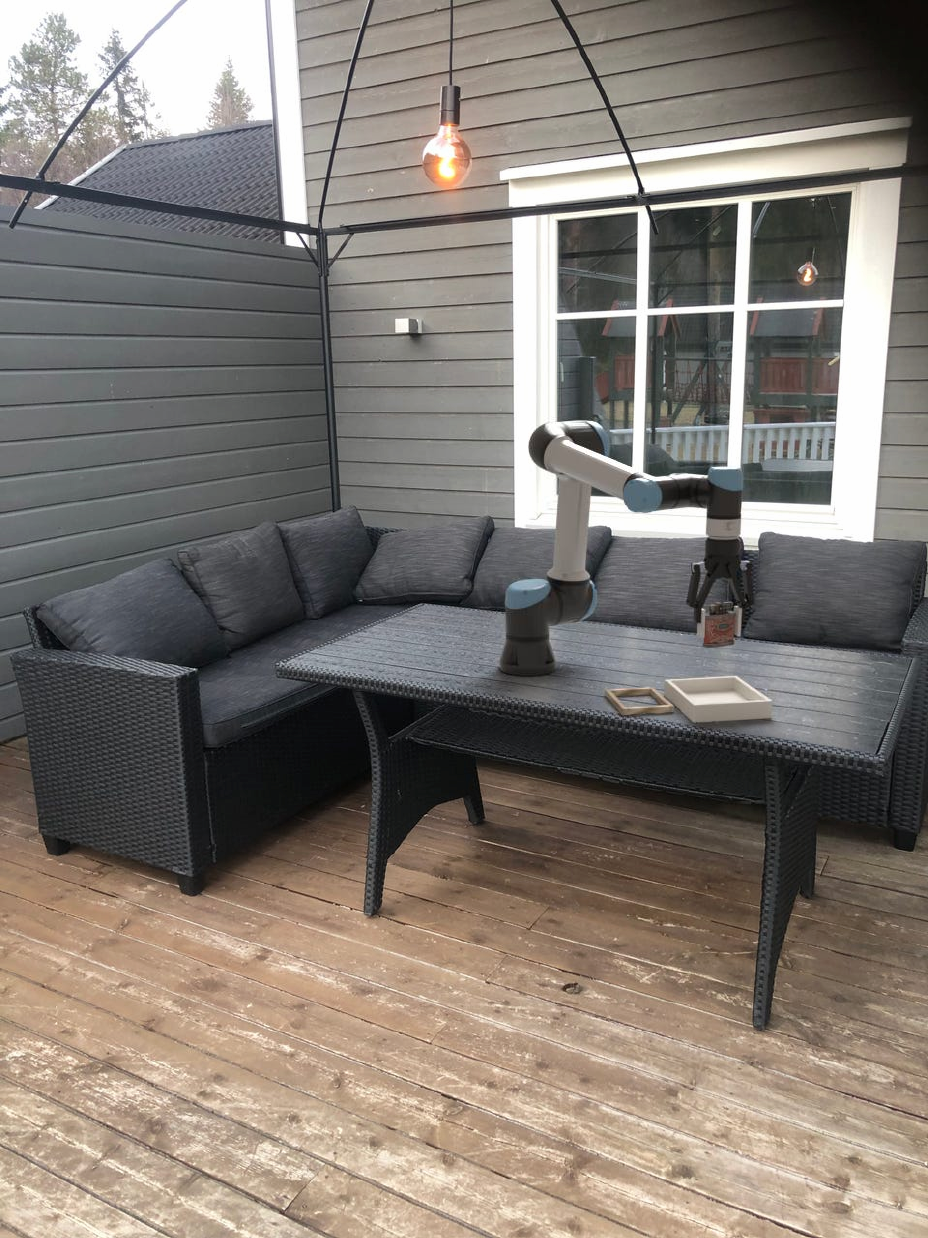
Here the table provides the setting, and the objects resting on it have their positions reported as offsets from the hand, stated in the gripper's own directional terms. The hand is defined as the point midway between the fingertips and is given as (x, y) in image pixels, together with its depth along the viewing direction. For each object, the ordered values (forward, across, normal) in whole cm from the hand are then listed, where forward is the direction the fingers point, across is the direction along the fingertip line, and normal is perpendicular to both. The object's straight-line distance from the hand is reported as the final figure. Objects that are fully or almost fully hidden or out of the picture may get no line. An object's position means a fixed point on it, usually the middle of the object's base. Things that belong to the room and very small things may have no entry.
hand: (718, 635), depth 221 cm
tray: (+17, 0, 0) cm, 17 cm away
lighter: (+2, 0, 0) cm, 2 cm away
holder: (+17, -17, +5) cm, 25 cm away
